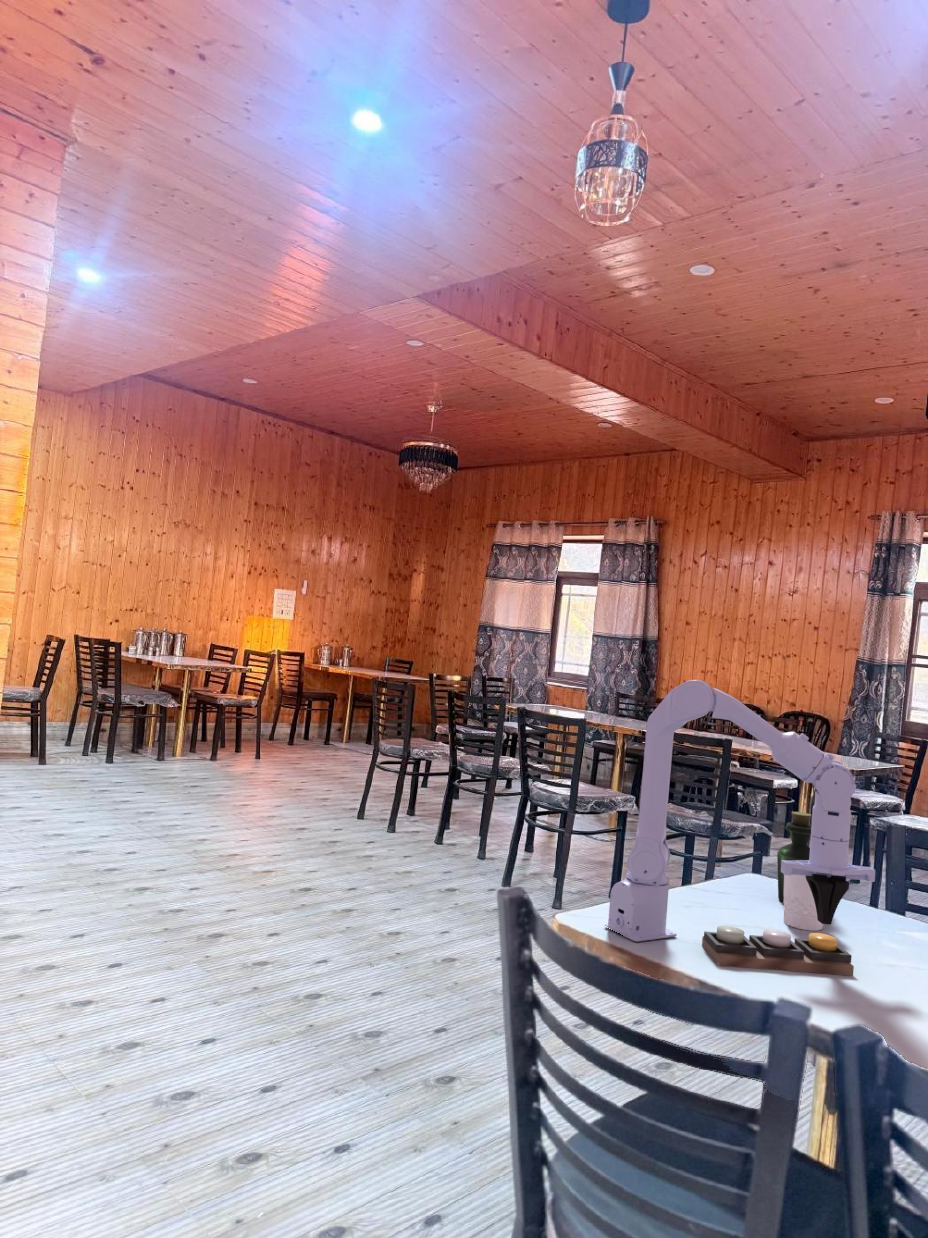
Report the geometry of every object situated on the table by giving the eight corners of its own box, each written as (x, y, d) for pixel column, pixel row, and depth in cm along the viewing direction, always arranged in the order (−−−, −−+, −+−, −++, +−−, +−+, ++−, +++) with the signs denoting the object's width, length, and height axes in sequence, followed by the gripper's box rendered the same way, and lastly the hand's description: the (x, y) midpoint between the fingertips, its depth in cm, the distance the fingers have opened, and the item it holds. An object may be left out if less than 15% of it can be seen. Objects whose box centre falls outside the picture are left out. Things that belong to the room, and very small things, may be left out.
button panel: (717, 965, 133) (719, 947, 133) (700, 945, 142) (701, 929, 142) (854, 976, 134) (855, 958, 134) (828, 955, 143) (829, 939, 143)
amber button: (815, 949, 136) (815, 940, 136) (804, 940, 140) (804, 932, 140) (841, 951, 136) (842, 943, 136) (829, 942, 140) (830, 934, 140)
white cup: (822, 935, 154) (825, 879, 154) (776, 925, 158) (780, 870, 158) (829, 925, 160) (833, 871, 161) (785, 915, 164) (788, 863, 165)
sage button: (721, 942, 136) (721, 933, 136) (712, 933, 140) (713, 925, 140) (747, 944, 136) (748, 935, 136) (738, 935, 140) (739, 927, 140)
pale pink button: (768, 946, 136) (768, 937, 136) (758, 937, 140) (759, 928, 140) (794, 948, 136) (795, 939, 136) (784, 939, 140) (784, 930, 140)
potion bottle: (774, 904, 172) (781, 814, 173) (773, 894, 180) (779, 808, 180) (818, 911, 170) (824, 819, 170) (815, 901, 177) (821, 813, 178)
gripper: (795, 839, 135) (789, 927, 134) (886, 846, 135) (881, 934, 134) (778, 830, 142) (772, 913, 141) (865, 837, 142) (859, 920, 141)
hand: (824, 922), depth 138 cm, fingers closed
